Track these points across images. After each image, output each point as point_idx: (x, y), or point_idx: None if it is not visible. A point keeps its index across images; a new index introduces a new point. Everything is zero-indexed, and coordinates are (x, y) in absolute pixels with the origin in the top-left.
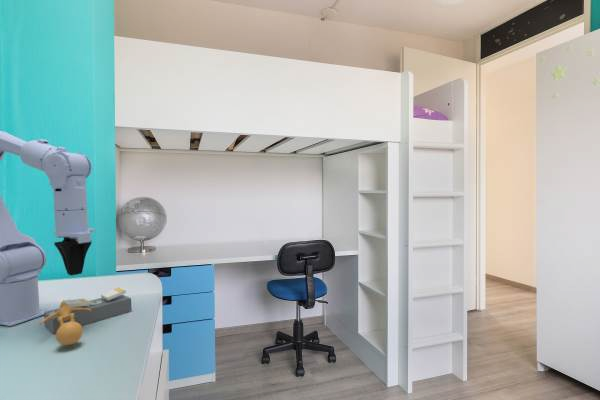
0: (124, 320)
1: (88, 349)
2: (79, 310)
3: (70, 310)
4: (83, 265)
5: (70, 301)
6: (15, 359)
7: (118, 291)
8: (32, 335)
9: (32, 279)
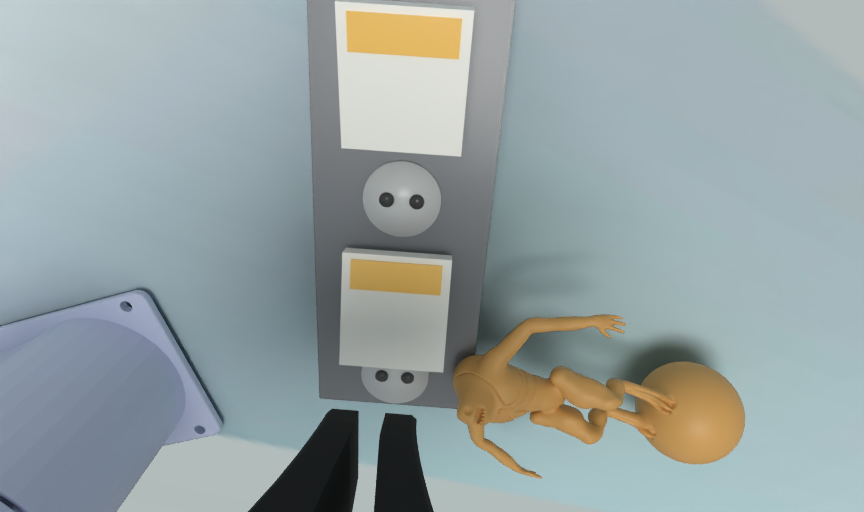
0: (613, 108)
1: (762, 349)
2: (453, 300)
3: (524, 381)
4: (416, 460)
5: (381, 340)
6: (585, 488)
7: (439, 58)
8: (403, 407)
9: (28, 502)
